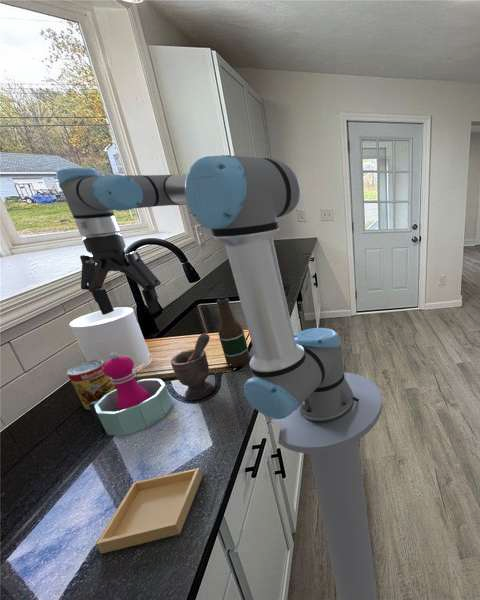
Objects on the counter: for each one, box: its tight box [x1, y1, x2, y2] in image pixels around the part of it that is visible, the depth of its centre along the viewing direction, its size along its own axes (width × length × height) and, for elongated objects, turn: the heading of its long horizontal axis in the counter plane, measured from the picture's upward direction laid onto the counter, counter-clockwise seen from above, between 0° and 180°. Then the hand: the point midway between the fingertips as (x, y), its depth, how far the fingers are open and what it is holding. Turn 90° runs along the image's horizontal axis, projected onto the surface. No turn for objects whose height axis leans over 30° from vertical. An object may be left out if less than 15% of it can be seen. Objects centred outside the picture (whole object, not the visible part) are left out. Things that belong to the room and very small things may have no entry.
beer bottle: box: [216, 297, 251, 368], centre depth 107 cm, size 8×8×24 cm
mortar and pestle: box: [170, 333, 214, 402], centre depth 92 cm, size 12×9×20 cm
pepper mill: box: [103, 353, 151, 411], centre depth 84 cm, size 7×7×20 cm
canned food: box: [66, 360, 117, 411], centre depth 92 cm, size 8×8×12 cm
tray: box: [95, 467, 203, 555], centre depth 60 cm, size 12×12×3 cm
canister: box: [69, 306, 153, 374], centre depth 108 cm, size 16×16×20 cm
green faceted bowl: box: [89, 378, 174, 436], centre depth 86 cm, size 17×15×7 cm
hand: (131, 312), depth 86 cm, fingers open, 13 cm apart
